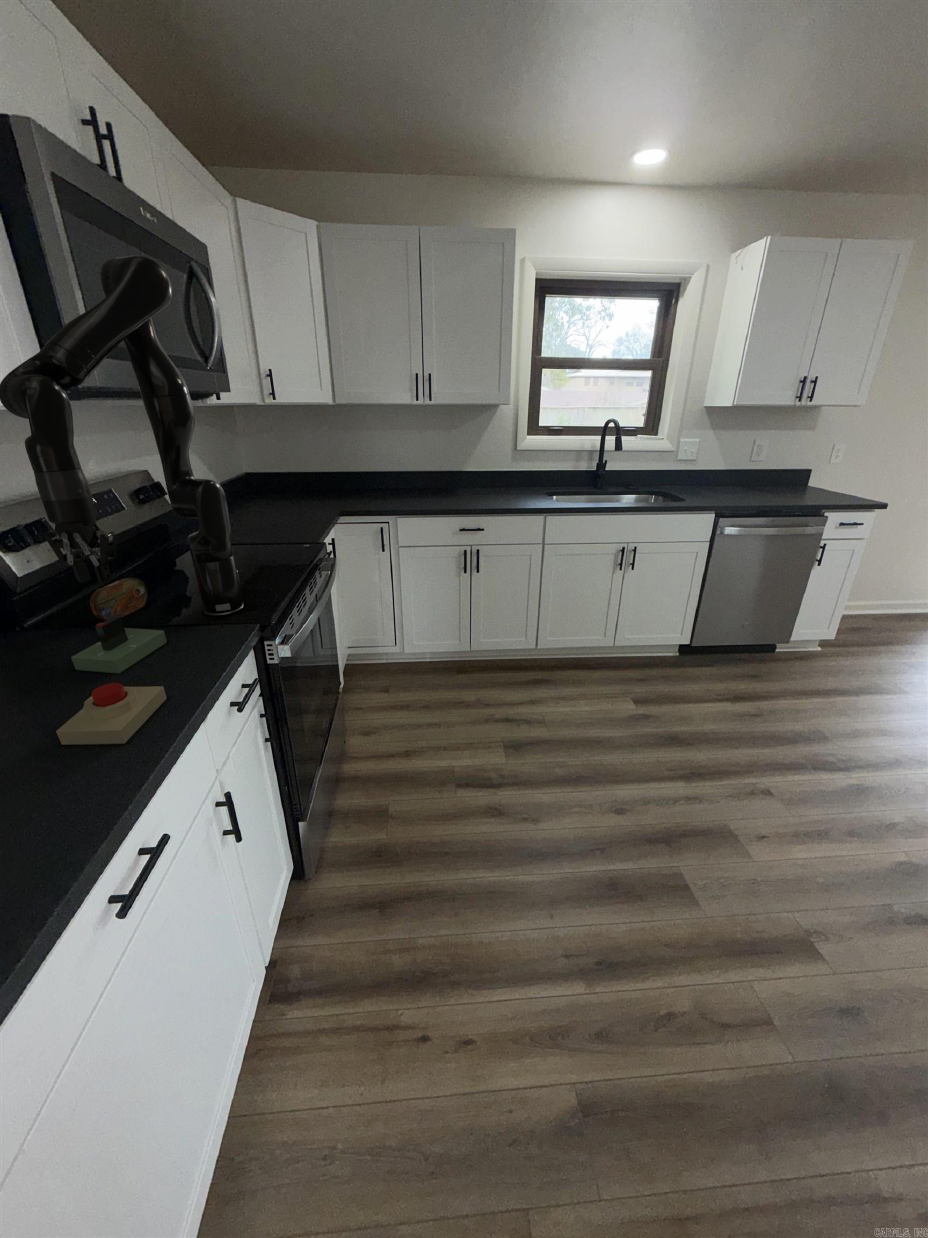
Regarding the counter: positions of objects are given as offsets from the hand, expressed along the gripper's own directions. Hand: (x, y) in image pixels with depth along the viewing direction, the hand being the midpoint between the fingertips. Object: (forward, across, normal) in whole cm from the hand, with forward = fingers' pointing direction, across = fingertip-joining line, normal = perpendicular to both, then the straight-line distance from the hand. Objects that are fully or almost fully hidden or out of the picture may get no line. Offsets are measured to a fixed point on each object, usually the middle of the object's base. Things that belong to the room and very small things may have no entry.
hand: (95, 581), depth 98 cm
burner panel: (+17, 0, -1) cm, 17 cm away
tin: (+17, +17, -21) cm, 32 cm away
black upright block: (+14, 0, 0) cm, 14 cm away
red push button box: (+17, -17, +20) cm, 31 cm away
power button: (+13, -17, +20) cm, 29 cm away
